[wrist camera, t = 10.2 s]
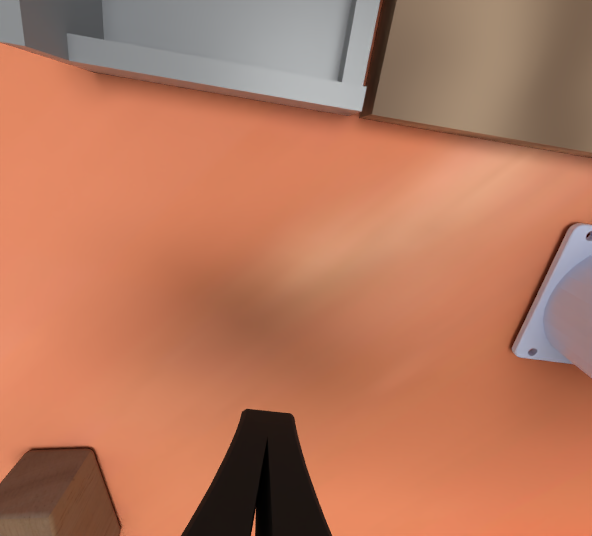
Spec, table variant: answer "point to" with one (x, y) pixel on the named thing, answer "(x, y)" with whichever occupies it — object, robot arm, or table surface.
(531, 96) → the walnut board
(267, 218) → the table surface
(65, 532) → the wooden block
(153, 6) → the gray box
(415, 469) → the table surface
